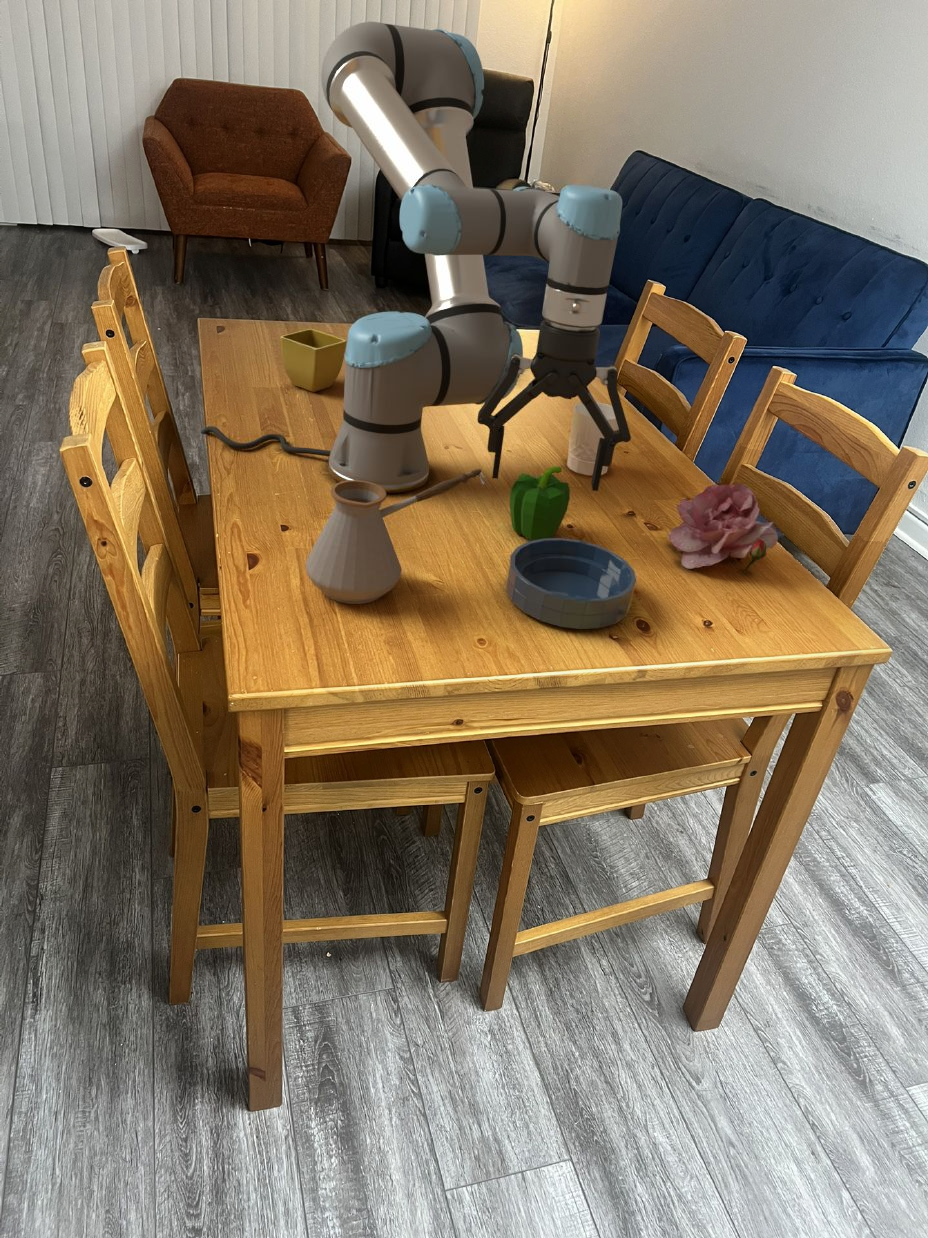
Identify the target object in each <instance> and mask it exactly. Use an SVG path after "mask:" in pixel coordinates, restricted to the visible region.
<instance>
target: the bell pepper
mask: <svg viewBox="0 0 928 1238" xmlns="http://www.w3.org/2000/svg"><path fill="white" fill-rule="evenodd" d="M562 469H563V468H562V467H561V466H559V465H554V466H550V467H548V468H547V469H546V470H545V471H543V473H542V474H541V475H539V476H537V477H535V476H532V475H530V474H529V473H528V474H527V473H524V472H523V473H521V474H520V475H519V477H517V479H516V480H515V481H514V482H513V484H512V486H511V487H510V494H509V511H510V512H509V513H510V522H511V527H512V529H513V531H514V533H516V534H517V535H522V536H523V538H525V539H526V540H528V541H534V540H538V539H544V538H553V536H554V535H556V533H557V531H558V530H559V528H560V526H561V525H562V523H563V520H564V518H565V515H566V513H567V511H568V507H569V503H570V502H569V501H570V497H571V496H570V495H571V490H570V484H569V482H565V481H561V480H559V478H557V476H555V474H560V473H561V472H562V471H563V470H562Z"/></svg>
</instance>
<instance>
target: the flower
mask: <svg viewBox="0 0 928 1238" xmlns="http://www.w3.org/2000/svg"><path fill="white" fill-rule="evenodd" d="M760 510H761V509H760V508H759V502H758V500H757V497H756V495H755V493H754V492H753V491H752V489H750V488H749V487H748V486H746V485H745V484H742V483H739V484H721V485H719V484H712V485H708V486H706V487H705V489H704V490H703V491H702V492H700V493H697V495H695V496H693V497H692V499H691V500H688V499H684V498H682V499H681V502H680V503H679V504H677V505H676V511H677V512H678V515H679V517H680V519H681V521H682V522H681V524H679V525H678V526H677V527H675V528H673V529H671V530H670V531H669V533H668V537H669V542H670V543H671V544H672V546H674V547H676V549H677V550H676V551H678V552H682V556H681V559H680V563H681V566H682V567H684V568H685V569H687V570H689V569H692V570H693V569H696V568H697V569H700V568H702V567H703V566H704V567H710V566H713V565H715V564H718V563H720V562H722V561H723V560H725V559H726V558H728V557H729V556H730V557H732V558H736V559H744V558H745V559H746V557H747V556H748V555H749V556H751V560H750V561H749V562H748V564H747V566H746V567H745V570H744V573H746V572H747V571H748V569H750V567H751V566H752V565H753V564H754V563H755V562H756V561H759V560H761V559H762V558H764V557H766V556H767V550H768V549H769V550H770V549H774V547H775V546H776V545H777V543H778V541H779V535H778V532H777V530H775V529H774V528H773V527H772V526H774V524H775V521H770V522H764V523H763V522H761V521H759V520H757V519H758V518H759V515H760Z"/></svg>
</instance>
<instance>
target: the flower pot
mask: <svg viewBox="0 0 928 1238" xmlns="http://www.w3.org/2000/svg"><path fill="white" fill-rule="evenodd" d="M279 339H280V348H281V359H282V365H283V369H284V371H285V374H286V376H287V377H288V379H289V381H290V382H291V384H292V385H293V386H296V387H298V388H301V389H304V390H306V391H309V392H313V393H315V392H318V391H321V390H324V389H327V388H330V387H331V386H332V385H333V384H334V383H335V381H336V380H337V378H338V376H339V375H340V372H341V370H342V367H343V364H344V360H345V351H346V347H347V340H348V339H347V340H346V339H344V338H341V337H339V336H336V335H332V334H330V333H326V332H323V331H320V330H317V329H313V328H307V329H303V330H299V331H295V332H292V333H287V334H283V335H281V336H279Z"/></svg>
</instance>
